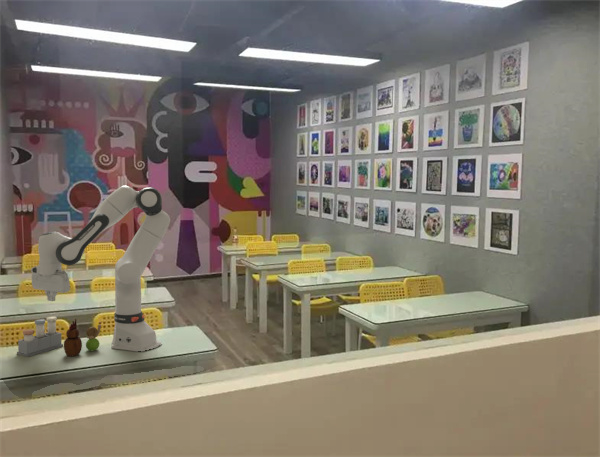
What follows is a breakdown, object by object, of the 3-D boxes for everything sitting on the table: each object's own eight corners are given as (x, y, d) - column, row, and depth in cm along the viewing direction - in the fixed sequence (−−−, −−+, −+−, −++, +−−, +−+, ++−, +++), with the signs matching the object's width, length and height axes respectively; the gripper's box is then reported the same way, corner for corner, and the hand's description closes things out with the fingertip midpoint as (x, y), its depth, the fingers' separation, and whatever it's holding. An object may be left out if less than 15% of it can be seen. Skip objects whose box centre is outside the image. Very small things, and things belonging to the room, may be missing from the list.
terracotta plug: (36, 349, 216) (35, 330, 216) (27, 351, 213) (26, 332, 212) (29, 347, 218) (29, 329, 217) (21, 350, 215) (20, 331, 214)
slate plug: (47, 338, 221) (47, 320, 220) (39, 340, 217) (38, 322, 217) (41, 337, 223) (41, 318, 222) (33, 339, 219) (32, 320, 219)
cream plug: (58, 335, 226) (58, 317, 225) (50, 337, 222) (50, 319, 222) (52, 333, 228) (52, 316, 227) (44, 336, 224) (44, 318, 223)
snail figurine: (103, 350, 222) (103, 322, 222) (89, 353, 218) (88, 325, 217) (98, 347, 226) (98, 320, 225) (83, 350, 222) (83, 322, 221)
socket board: (63, 346, 226) (62, 333, 226) (27, 357, 211) (27, 342, 211) (52, 344, 229) (52, 330, 229) (16, 354, 215) (16, 340, 214)
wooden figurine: (77, 351, 219) (76, 317, 218) (84, 354, 216) (83, 319, 215) (61, 355, 214) (61, 320, 213) (68, 358, 211) (67, 322, 209)
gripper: (73, 270, 221) (74, 301, 222) (41, 266, 230) (42, 297, 231) (60, 272, 215) (61, 304, 216) (28, 268, 224) (29, 299, 225)
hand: (51, 300), depth 224 cm, fingers closed
